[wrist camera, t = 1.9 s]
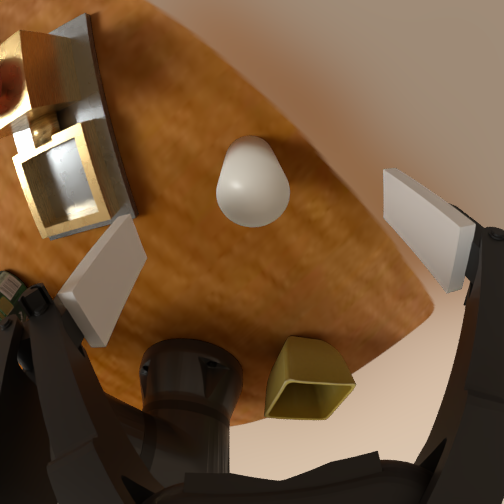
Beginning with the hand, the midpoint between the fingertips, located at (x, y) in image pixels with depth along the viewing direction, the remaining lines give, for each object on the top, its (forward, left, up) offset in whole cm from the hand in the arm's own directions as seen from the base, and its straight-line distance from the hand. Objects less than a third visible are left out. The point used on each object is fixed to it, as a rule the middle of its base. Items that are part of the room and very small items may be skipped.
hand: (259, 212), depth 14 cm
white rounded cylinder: (0, 0, -14) cm, 14 cm away
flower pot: (-26, -2, -14) cm, 30 cm away
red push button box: (+8, +18, -14) cm, 24 cm away
